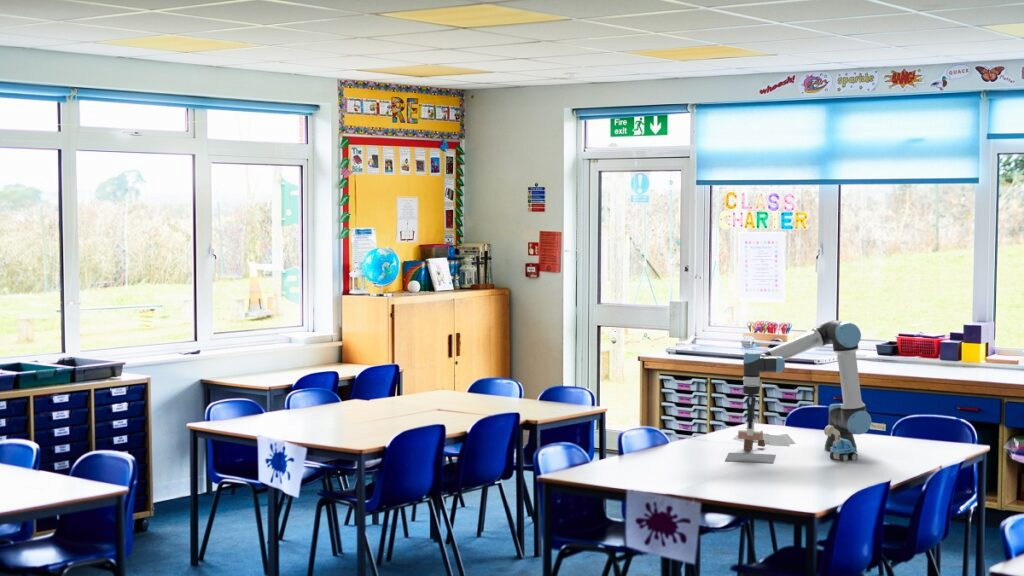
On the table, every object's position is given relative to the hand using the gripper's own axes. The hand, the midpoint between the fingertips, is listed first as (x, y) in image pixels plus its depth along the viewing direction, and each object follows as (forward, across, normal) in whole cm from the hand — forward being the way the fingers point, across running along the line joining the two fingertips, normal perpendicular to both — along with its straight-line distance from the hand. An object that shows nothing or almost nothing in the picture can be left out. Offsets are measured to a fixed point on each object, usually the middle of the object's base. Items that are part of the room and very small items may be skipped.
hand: (750, 434), depth 575 cm
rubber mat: (+12, 0, 0) cm, 12 cm away
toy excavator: (+12, -7, +40) cm, 43 cm away
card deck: (+2, 0, 0) cm, 2 cm away
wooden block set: (+12, -24, -1) cm, 27 cm away
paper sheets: (+13, -54, +5) cm, 55 cm away
